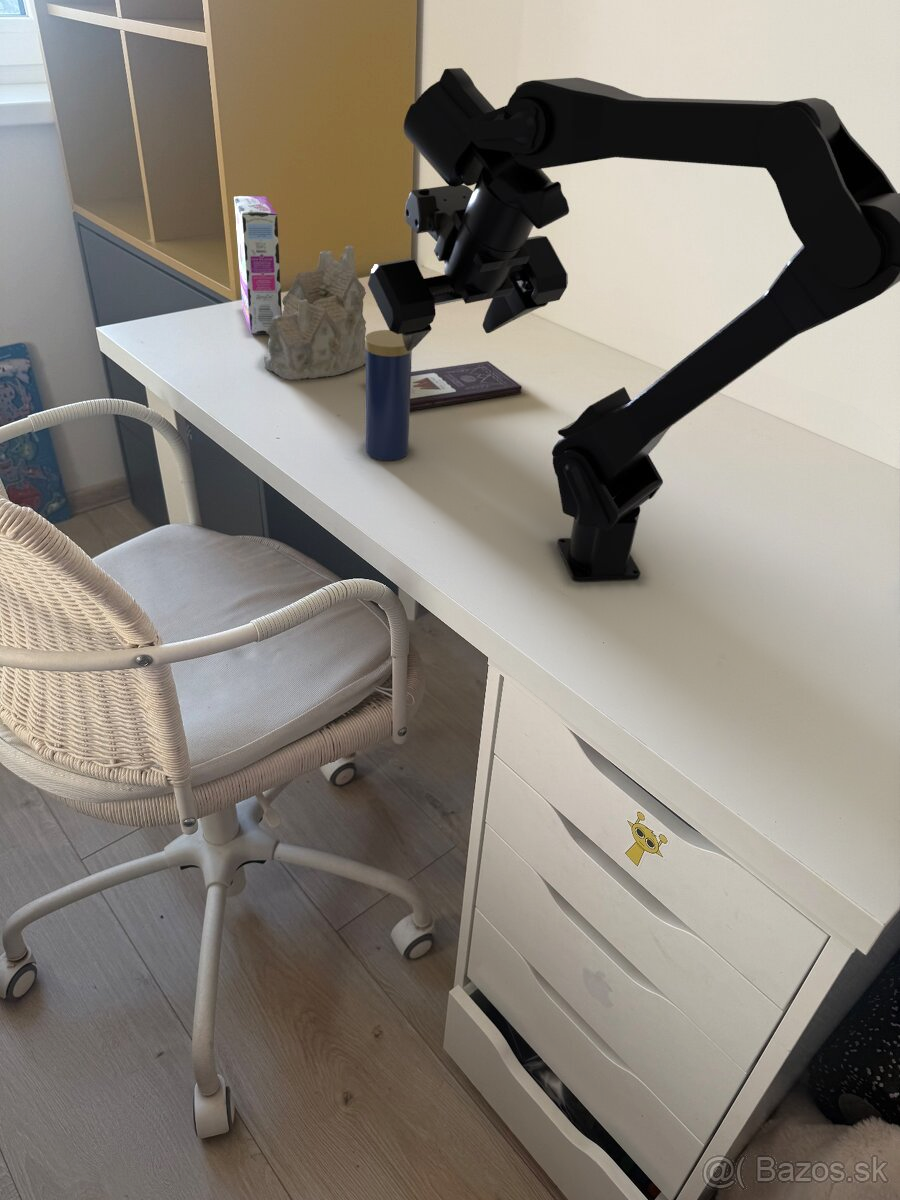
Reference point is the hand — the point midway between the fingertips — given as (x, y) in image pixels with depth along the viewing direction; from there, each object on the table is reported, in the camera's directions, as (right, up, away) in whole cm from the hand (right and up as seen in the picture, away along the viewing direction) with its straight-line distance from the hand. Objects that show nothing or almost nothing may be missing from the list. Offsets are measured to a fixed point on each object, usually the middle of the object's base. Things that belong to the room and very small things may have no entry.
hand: (447, 338), depth 84 cm
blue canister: (-7, -10, +9) cm, 15 cm away
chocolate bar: (0, +1, +24) cm, 24 cm away
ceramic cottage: (-19, +7, +31) cm, 37 cm away
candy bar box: (-28, +15, +40) cm, 51 cm away
